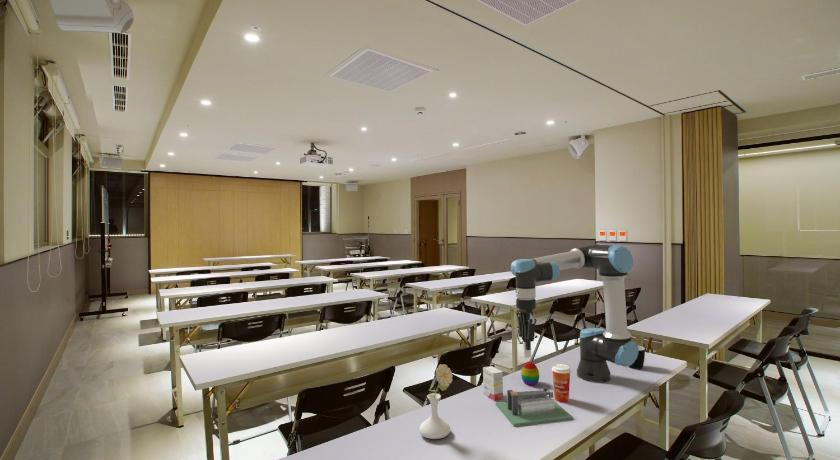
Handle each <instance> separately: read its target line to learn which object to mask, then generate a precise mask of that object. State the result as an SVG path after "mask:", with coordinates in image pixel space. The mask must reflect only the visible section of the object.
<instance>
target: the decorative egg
mask: <svg viewBox="0 0 840 460" xmlns="http://www.w3.org/2000/svg"><path fill="white" fill-rule="evenodd" d="M539 371H540V370H539V368H538V367H537V365H536V364H535V363H534V362H533V361H528V362H526V363H525V364H523V366H522V368H521V374H520V376H521V379H522V381H523V383H524V384H525V385H527V386H536V385H537V384H538V382H539V380H540V372H539Z"/></svg>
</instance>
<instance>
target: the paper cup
mask: <svg viewBox="0 0 840 460" xmlns="http://www.w3.org/2000/svg"><path fill="white" fill-rule="evenodd" d="M551 371H552V379H553V380H552V383H553V396H554V401H555V402H556V401H557V402H559V403H567V402H569V401H570V381H571V380H570V379H571V373H572V370H571V368H570V367H569V365H566V364H561V363H555V364H554V365H553V366H552V368H551Z"/></svg>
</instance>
